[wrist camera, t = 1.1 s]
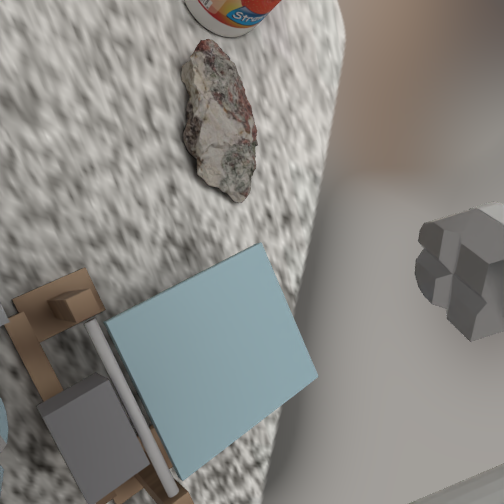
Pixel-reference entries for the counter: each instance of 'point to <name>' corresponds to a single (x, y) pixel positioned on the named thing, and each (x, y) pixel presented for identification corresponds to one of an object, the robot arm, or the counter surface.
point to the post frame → (43, 376)
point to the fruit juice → (230, 14)
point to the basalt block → (3, 316)
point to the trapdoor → (182, 376)
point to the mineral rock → (219, 121)
